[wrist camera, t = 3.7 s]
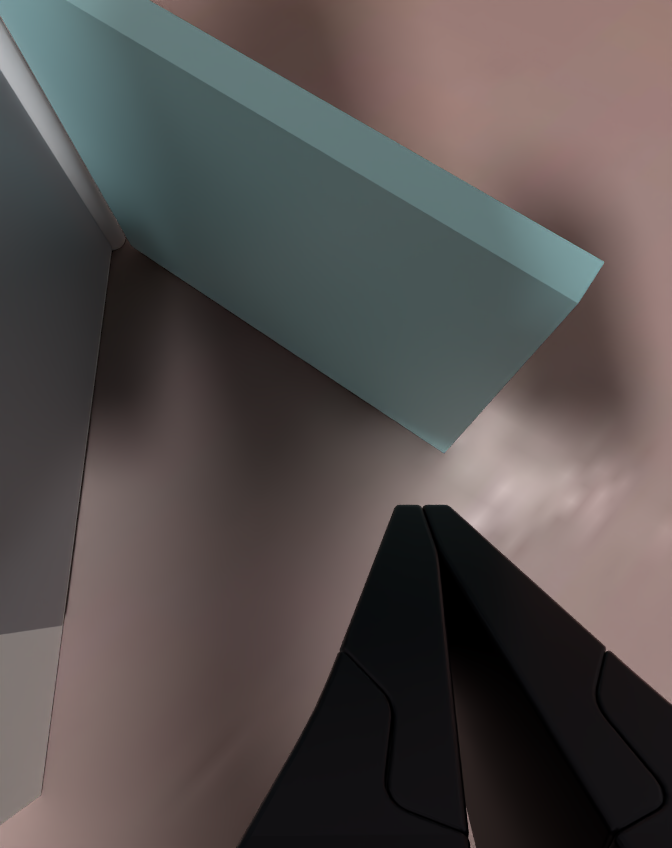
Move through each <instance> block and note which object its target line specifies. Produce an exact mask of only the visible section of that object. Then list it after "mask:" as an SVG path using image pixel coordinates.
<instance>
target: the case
mask: <svg viewBox="0 0 672 848" xmlns="http://www.w3.org/2000/svg"><path fill="white" fill-rule="evenodd" d="M124 242H125V235H124V233H123V232H122V230H121V228H120V226H119V225H118V223H117V221H116V219H115V218H114V216H113V214H112V212H111V211H110V209H109V207H108V205H107V204H106V202H105V200H104V198H103V197H102V195H101V193H100V191H99V190H98V188H97V186H96V184H95V183H94V181H93V179H92V177H91V176H90V174H89V172H88V170H87V169H86V167H85V165H84V163H83V162H82V160H81V158H80V156H79V155H78V153H77V151H76V149H75V148H74V146H73V144H72V142H71V141H70V139H69V137H68V135H67V134H66V132H65V130H64V128H63V127H62V125H61V123H60V121H59V120H58V118H57V116H56V114H55V112H54V111H53V109H52V107H51V105H50V104H49V102H48V100H47V98H46V97H45V95H44V93H43V91H42V90H41V88H40V86H39V84H38V83H37V81H36V79H35V77H34V76H33V74H32V72H31V70H30V69H29V67H28V65H27V63H26V62H25V60H24V58H23V56H22V55H21V53H20V51H19V49H18V48H17V46H16V44H15V42H14V41H13V39H12V37H11V35H10V34H9V32H8V30H7V28H6V27H5V25H4V23H3V21H2V20H1V18H0V825H1V824H2V823H4V822H5V821H7V820H8V819H9V818H11V817H12V816H13V815H15V814H16V813H17V812H19V811H20V810H22V809H23V808H24V807H26V806H27V805H28V804H30V803H31V802H32V801H34V800H35V799H37V798H38V797H39V796H41V791H42V783H43V775H44V767H45V760H46V752H47V744H48V737H49V729H50V721H51V714H52V706H53V698H54V690H55V683H56V675H57V667H58V660H59V652H60V644H61V637H62V629H63V621H64V613H65V606H66V598H67V590H68V583H69V575H70V567H71V560H72V552H73V544H74V536H75V529H76V521H77V513H78V506H79V498H80V490H81V483H82V475H83V467H84V459H85V452H86V444H87V436H88V429H89V421H90V413H91V406H92V398H93V390H94V382H95V375H96V367H97V359H98V352H99V344H100V336H101V329H102V321H103V313H104V305H105V298H106V290H107V282H108V275H109V267H110V259H111V252H112V250H116V249H119V248H120V247H122V246H123V244H124Z"/></svg>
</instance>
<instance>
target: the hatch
mask: <svg viewBox="0 0 672 848" xmlns="http://www.w3.org/2000/svg"><path fill="white" fill-rule="evenodd" d="M0 16H1V18H2V19H3V21H4V23H5V25H6V26H7V28H8V30H9V32H10V33H11V35H12V37H13V39H14V40H15V42H16V44H17V46H18V47H19V49H20V51H21V53H22V55H23V56H24V58H25V60H26V62H27V63H28V65H29V67H30V69H31V70H32V72H33V74H34V76H35V77H36V79H37V81H38V83H39V84H40V86H41V88H42V90H43V91H44V93H45V95H46V97H47V98H48V100H49V102H50V104H51V105H52V107H53V109H54V111H55V113H56V114H57V116H58V118H59V120H60V121H61V123H62V125H63V127H64V128H65V130H66V132H67V134H68V135H69V137H70V139H71V141H72V142H73V144H74V146H75V148H76V149H77V151H78V153H79V155H80V156H81V158H82V160H83V162H84V163H85V165H86V167H87V169H88V171H89V172H90V174H91V176H92V178H93V179H94V181H95V183H96V185H97V186H98V188H99V190H100V192H101V193H102V195H103V197H104V199H105V200H106V202H107V204H108V206H109V207H110V209H111V211H112V213H113V214H114V216H115V218H116V220H117V221H118V223H119V225H120V227H121V229H122V230H123V232H124V234H125V236H126V237H127V239H128V241H129V243H130V244H131V246H132V247H134V248H135V249H137V250H138V251H140V252H141V253H143V254H144V255H146V256H147V257H149V258H150V259H152V260H153V261H155V262H156V263H158V264H159V265H161V266H162V267H164V268H165V269H167V270H168V271H170V272H171V273H173V274H174V275H176V276H177V277H179V278H180V279H182V280H183V281H185V282H186V283H188V284H189V285H191V286H192V287H194V288H195V289H197V290H198V291H200V292H201V293H203V294H204V295H206V296H207V297H209V298H210V299H212V300H214V301H215V302H217V303H218V304H220V305H221V306H223V307H224V308H226V309H227V310H229V311H230V312H232V313H233V314H235V315H236V316H238V317H239V318H241V319H242V320H244V321H245V322H247V323H248V324H250V325H251V326H253V327H254V328H256V329H257V330H259V331H260V332H262V333H263V334H265V335H266V336H268V337H269V338H271V339H272V340H274V341H275V342H277V343H278V344H280V345H281V346H283V347H284V348H286V349H287V350H289V351H290V352H292V353H293V354H295V355H296V356H298V357H299V358H301V359H302V360H304V361H306V362H307V363H309V364H310V365H312V366H313V367H315V368H316V369H318V370H319V371H321V372H322V373H324V374H325V375H327V376H328V377H330V378H331V379H333V380H334V381H336V382H337V383H339V384H340V385H342V386H343V387H345V388H346V389H348V390H349V391H351V392H352V393H354V394H355V395H357V396H358V397H360V398H361V399H363V400H364V401H366V402H367V403H369V404H370V405H372V406H373V407H375V408H376V409H378V410H379V411H381V412H382V413H384V414H385V415H387V416H388V417H390V418H391V419H393V420H395V421H396V422H398V423H399V424H401V425H402V426H404V427H405V428H407V429H408V430H410V431H411V432H413V433H414V434H416V435H417V436H419V437H420V438H422V439H423V440H425V441H426V442H428V443H429V444H431V445H432V446H434V447H435V448H437V449H438V450H440V451H441V452H443V453H445V452H446V451H447V450H448V448H449V447H450V446H451V445H452V444H453V443H454V442H455V441H456V440H457V438H458V437H459V436H460V435H461V434H462V433H463V432H464V431H465V429H466V428H467V427H468V426H469V425H470V424H471V423H472V422H473V421H474V419H475V418H476V417H477V416H478V415H479V414H480V413H481V412H482V410H483V409H484V408H485V407H486V406H487V405H488V404H489V403H490V402H491V400H492V399H493V398H494V397H495V396H496V395H497V394H498V393H499V391H500V390H501V389H502V388H503V387H504V386H505V385H506V384H507V382H508V381H509V380H510V379H511V378H512V377H513V376H514V375H515V374H516V372H517V371H518V370H519V369H520V368H521V367H522V366H523V365H524V363H525V362H526V361H527V360H528V359H529V358H530V357H531V356H532V355H533V353H534V352H535V351H536V350H537V349H538V348H539V347H540V346H541V344H542V343H543V342H544V341H545V340H546V339H547V338H548V337H549V335H550V334H551V333H552V332H553V331H554V330H555V329H556V328H557V327H558V325H559V324H560V323H561V322H562V321H563V320H564V319H565V318H566V316H567V315H568V314H569V313H570V312H571V311H572V310H573V309H574V308H575V306H576V305H577V304H578V303H579V301H580V300H581V298H582V297H583V295H584V294H585V292H586V290H587V289H588V287H589V286H590V284H591V283H592V281H593V279H594V278H595V276H596V275H597V273H598V272H599V270H600V269H601V267H602V265H603V264H604V261H602V260H600V259H598V258H597V257H595V256H593V255H591V254H590V253H588V252H586V251H585V250H583V249H581V248H579V247H578V246H576V245H574V244H572V243H571V242H569V241H567V240H565V239H564V238H562V237H560V236H558V235H557V234H555V233H553V232H551V231H550V230H548V229H546V228H545V227H543V226H541V225H539V224H538V223H536V222H534V221H532V220H531V219H529V218H527V217H525V216H524V215H522V214H520V213H518V212H517V211H515V210H513V209H511V208H510V207H508V206H506V205H504V204H503V203H501V202H499V201H498V200H496V199H494V198H492V197H491V196H489V195H487V194H485V193H484V192H482V191H480V190H478V189H477V188H475V187H473V186H471V185H470V184H468V183H466V182H464V181H463V180H461V179H459V178H458V177H456V176H454V175H452V174H451V173H449V172H447V171H445V170H444V169H442V168H440V167H438V166H437V165H435V164H433V163H431V162H430V161H428V160H426V159H424V158H423V157H421V156H419V155H417V154H416V153H414V152H412V151H411V150H409V149H407V148H405V147H404V146H402V145H400V144H398V143H397V142H395V141H393V140H391V139H390V138H388V137H386V136H384V135H383V134H381V133H379V132H377V131H376V130H374V129H372V128H371V127H369V126H367V125H365V124H364V123H362V122H360V121H358V120H357V119H355V118H353V117H351V116H350V115H348V114H346V113H344V112H343V111H341V110H339V109H337V108H336V107H334V106H332V105H330V104H329V103H327V102H325V101H324V100H322V99H320V98H318V97H317V96H315V95H313V94H311V93H310V92H308V91H306V90H304V89H303V88H301V87H299V86H297V85H296V84H294V83H292V82H290V81H289V80H287V79H285V78H284V77H282V76H280V75H278V74H277V73H275V72H273V71H271V70H270V69H268V68H266V67H264V66H263V65H261V64H259V63H257V62H256V61H254V60H252V59H250V58H249V57H247V56H245V55H243V54H242V53H240V52H238V51H237V50H235V49H233V48H231V47H230V46H228V45H226V44H224V43H223V42H221V41H219V40H217V39H216V38H214V37H212V36H210V35H209V34H207V33H205V32H203V31H202V30H200V29H198V28H197V27H195V26H193V25H191V24H190V23H188V22H186V21H184V20H183V19H181V18H179V17H177V16H176V15H174V14H172V13H170V12H169V11H167V10H165V9H163V8H162V7H160V6H158V5H156V4H155V3H153V2H151V1H150V0H0Z"/></svg>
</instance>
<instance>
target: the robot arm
mask: <svg viewBox="0 0 672 848" xmlns="http://www.w3.org/2000/svg"><path fill="white" fill-rule="evenodd" d="M605 652H606V653H605ZM466 808H467V812H468V816H469V820H470V824H471V829H472V833H473V837H474V841H475V845H476V848H672V704H670V703H669V702H668V701H667V700H666V699H665V698H663V697H662V696H661V695H660V694H659V693H658V692H657V691H655V690H654V689H653V688H652V687H651V686H650V685H648V684H647V683H646V682H645V681H644V680H643V679H641V678H640V677H639V676H638V675H637V674H636V673H634V672H633V671H632V670H631V669H630V668H629V667H628V666H627V665H626V664H624V663H623V662H622V661H621V660H620V659H619V658H618V657H617V656H616V655H614V654H613V653H612V652H611V651H606V647H605V646H604V645H603V644H602V643H601V642H600V641H599V640H598V639H596V638H595V637H594V636H593V635H592V634H591V633H590V632H589V631H588V630H586V629H585V628H584V627H583V626H582V625H581V624H580V623H579V622H578V621H576V620H575V619H574V618H573V617H572V616H571V615H570V614H569V613H568V612H566V611H565V610H564V609H563V608H562V607H561V606H560V605H559V604H558V603H556V602H555V601H554V600H553V599H552V598H551V597H550V596H549V595H548V594H546V593H545V592H544V591H543V590H542V589H541V588H540V587H539V586H538V585H537V584H535V583H534V582H533V581H532V580H531V579H530V578H529V577H528V576H527V575H525V574H524V573H523V572H522V571H521V570H520V569H519V568H518V567H517V566H515V565H514V564H513V563H512V562H511V561H510V560H509V559H508V558H507V557H505V556H504V555H503V554H502V553H501V552H500V551H499V550H498V549H497V548H495V547H494V546H493V545H492V544H491V543H490V542H489V541H488V540H487V539H485V538H484V537H483V536H482V535H481V534H480V533H479V532H478V531H477V530H476V529H474V528H473V527H472V526H471V525H470V524H469V523H468V522H467V521H466V520H464V519H463V518H462V517H461V516H460V515H459V514H458V513H457V512H456V511H454V510H453V509H452V508H451V507H450V506H448V505H425V506H423V508H422V507H421V506H419V505H397V506H396V507H395V508H394V511H393V513H392V516H391V518H390V521H389V523H388V526H387V529H386V531H385V534H384V536H383V539H382V541H381V544H380V547H379V549H378V552H377V554H376V557H375V560H374V562H373V565H372V567H371V570H370V572H369V575H368V578H367V580H366V583H365V585H364V588H363V591H362V593H361V596H360V598H359V601H358V603H357V606H356V609H355V611H354V614H353V616H352V619H351V622H350V624H349V627H348V629H347V632H346V634H345V637H344V640H343V642H342V645H341V647H340V652H339V653H338V654H337V657H336V659H335V662H334V664H333V667H332V669H331V672H330V675H329V677H328V679H327V681H326V684H325V686H324V688H323V691H322V693H321V695H320V698H319V700H318V702H317V704H316V707H315V709H314V710H313V712H312V714H311V716H310V718H309V720H308V722H307V724H306V726H305V728H304V730H303V731H302V733H301V735H300V737H299V739H298V741H297V743H296V745H295V746H294V748H293V750H292V752H291V753H290V755H289V757H288V759H287V760H286V762H285V764H284V766H283V767H282V769H281V771H280V773H279V774H278V776H277V778H276V780H275V781H274V783H273V785H272V787H271V788H270V790H269V792H268V794H267V795H266V797H265V799H264V801H263V802H262V804H261V806H260V808H259V809H258V811H257V813H256V815H255V816H254V818H253V820H252V822H251V823H250V825H249V827H248V828H247V830H246V832H245V834H244V835H243V837H242V839H241V840H240V842H239V844H238V845H237V847H236V848H470V842H469V839H468V835H469V830H468V821H467V812H466Z"/></svg>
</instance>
